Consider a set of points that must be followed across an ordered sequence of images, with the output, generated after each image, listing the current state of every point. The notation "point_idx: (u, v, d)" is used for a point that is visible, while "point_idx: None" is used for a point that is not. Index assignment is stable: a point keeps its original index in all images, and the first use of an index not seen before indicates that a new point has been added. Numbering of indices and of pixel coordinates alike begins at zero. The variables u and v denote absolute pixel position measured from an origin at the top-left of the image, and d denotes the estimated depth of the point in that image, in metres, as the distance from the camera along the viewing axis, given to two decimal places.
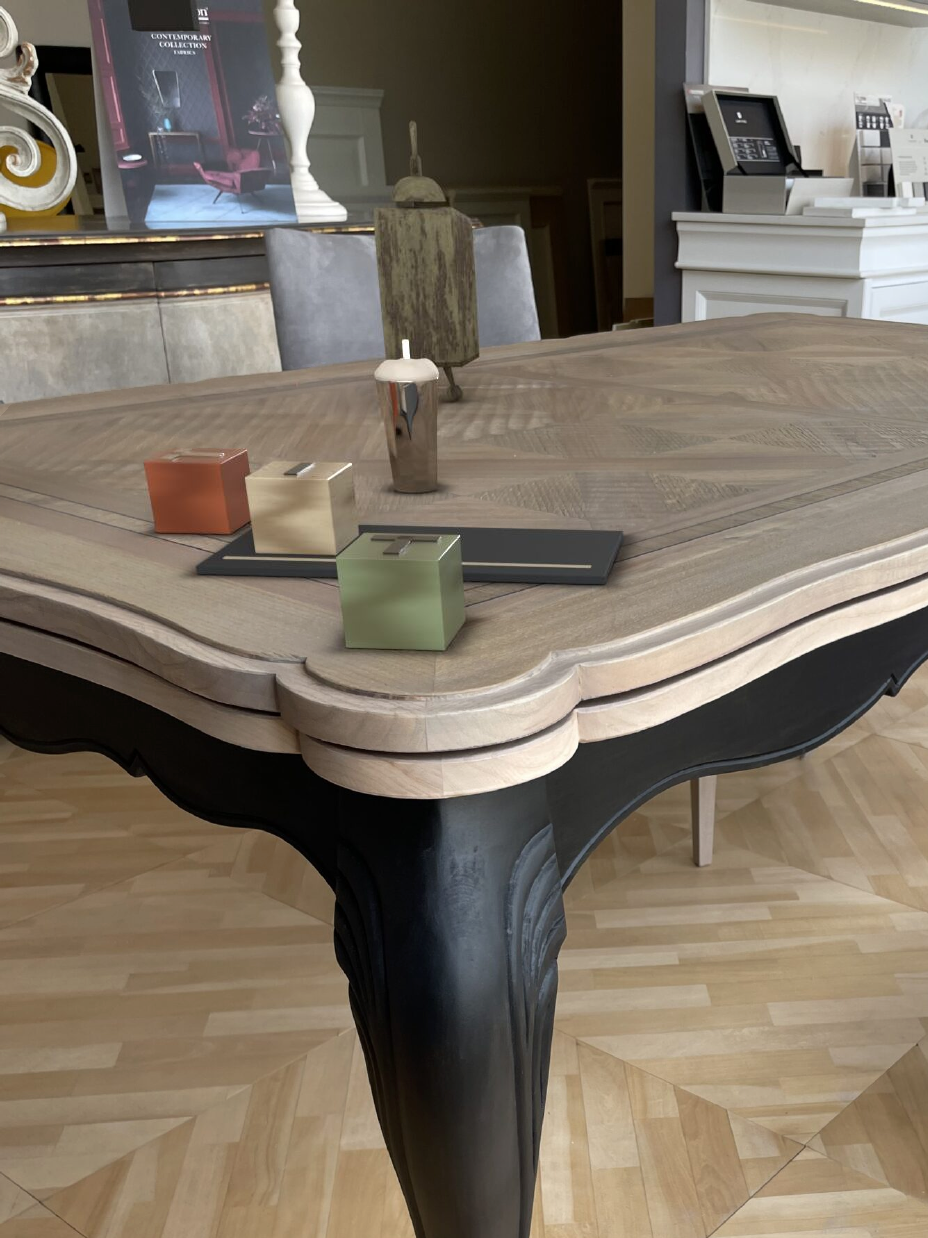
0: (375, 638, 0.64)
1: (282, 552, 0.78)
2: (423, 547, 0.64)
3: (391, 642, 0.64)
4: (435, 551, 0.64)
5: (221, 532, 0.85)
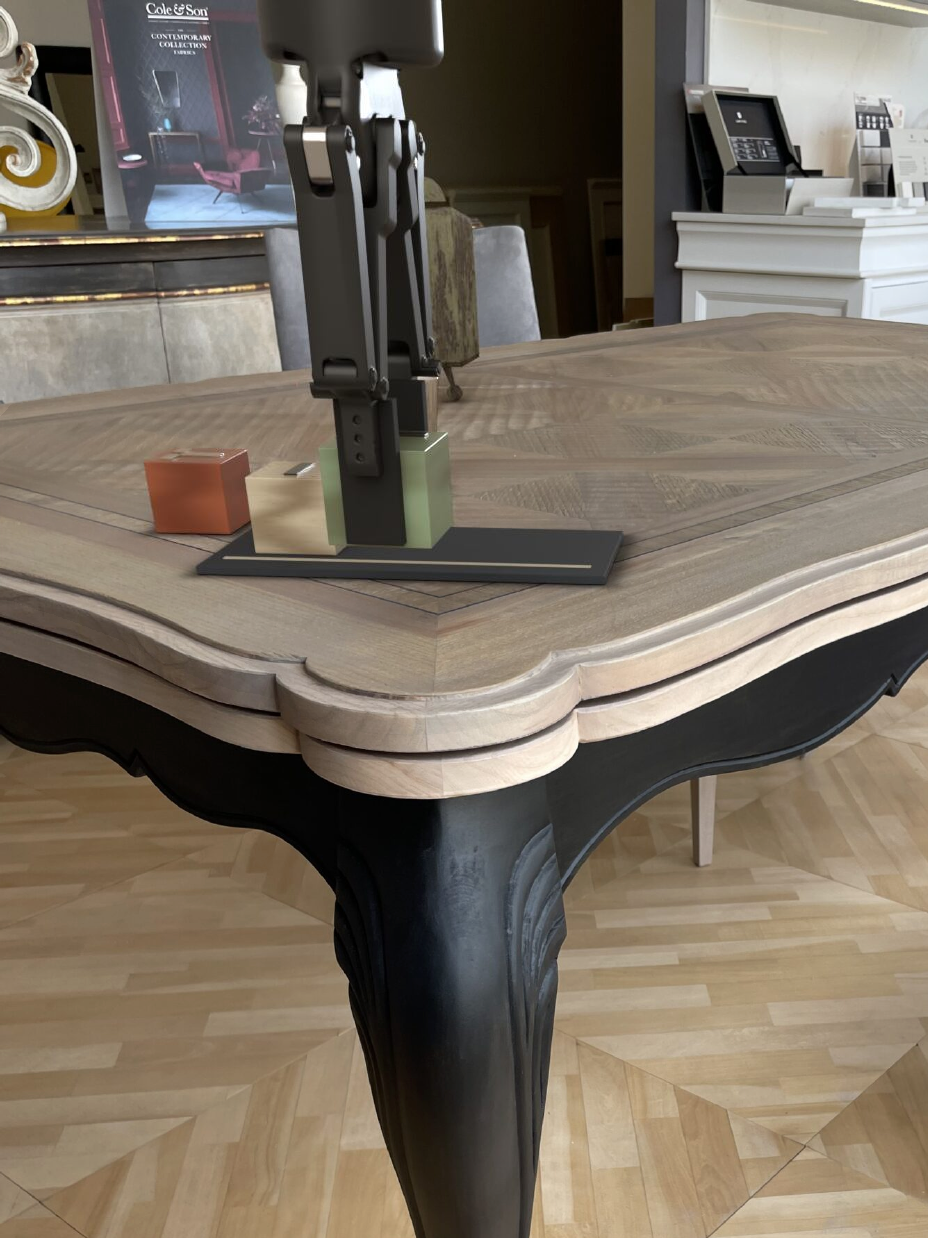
0: None
1: (282, 552, 0.78)
2: (409, 441, 0.62)
3: None
4: (422, 444, 0.61)
5: (221, 532, 0.85)
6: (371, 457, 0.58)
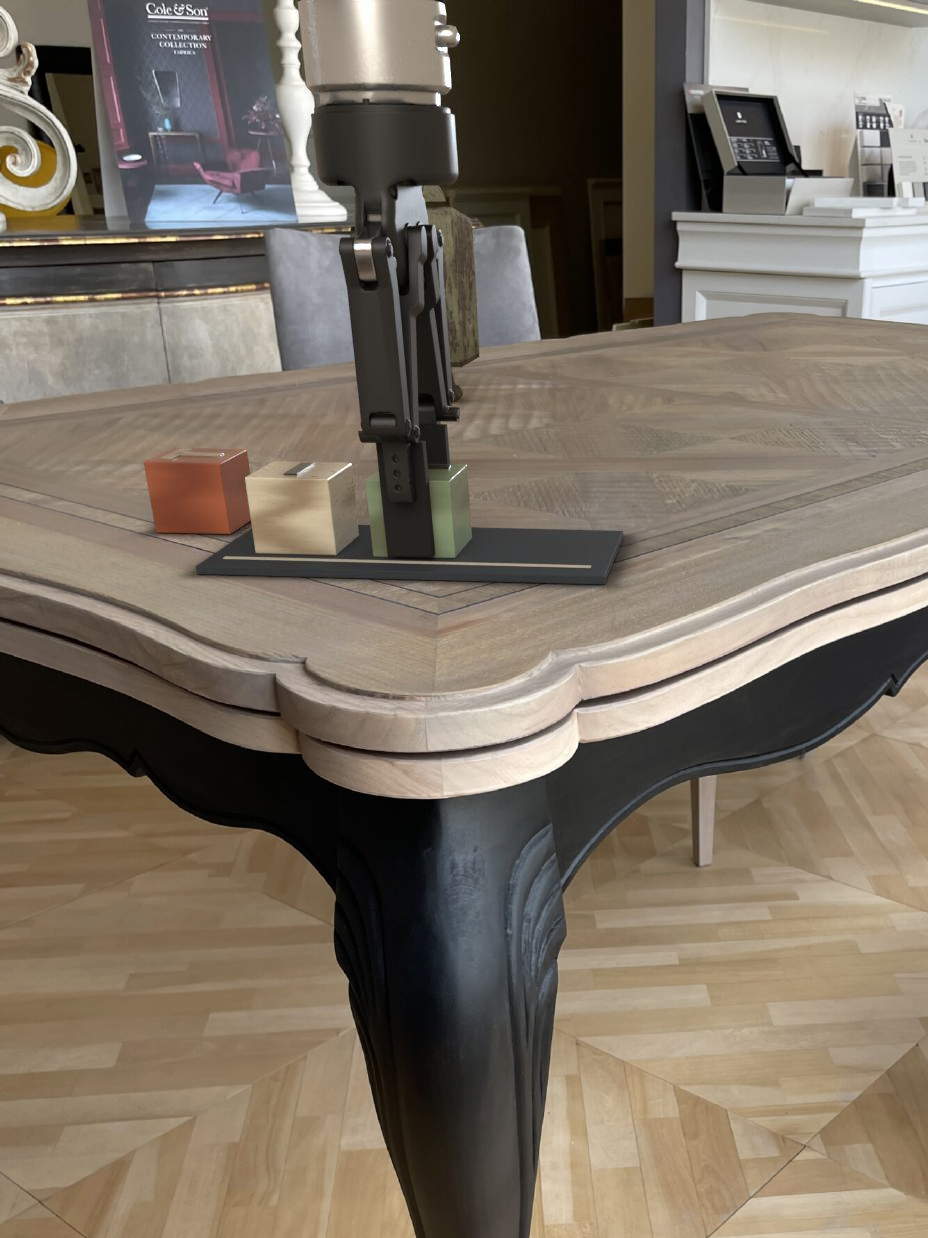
0: None
1: (282, 552, 0.78)
2: (437, 472, 0.78)
3: None
4: (447, 475, 0.77)
5: (221, 532, 0.85)
6: (407, 488, 0.74)
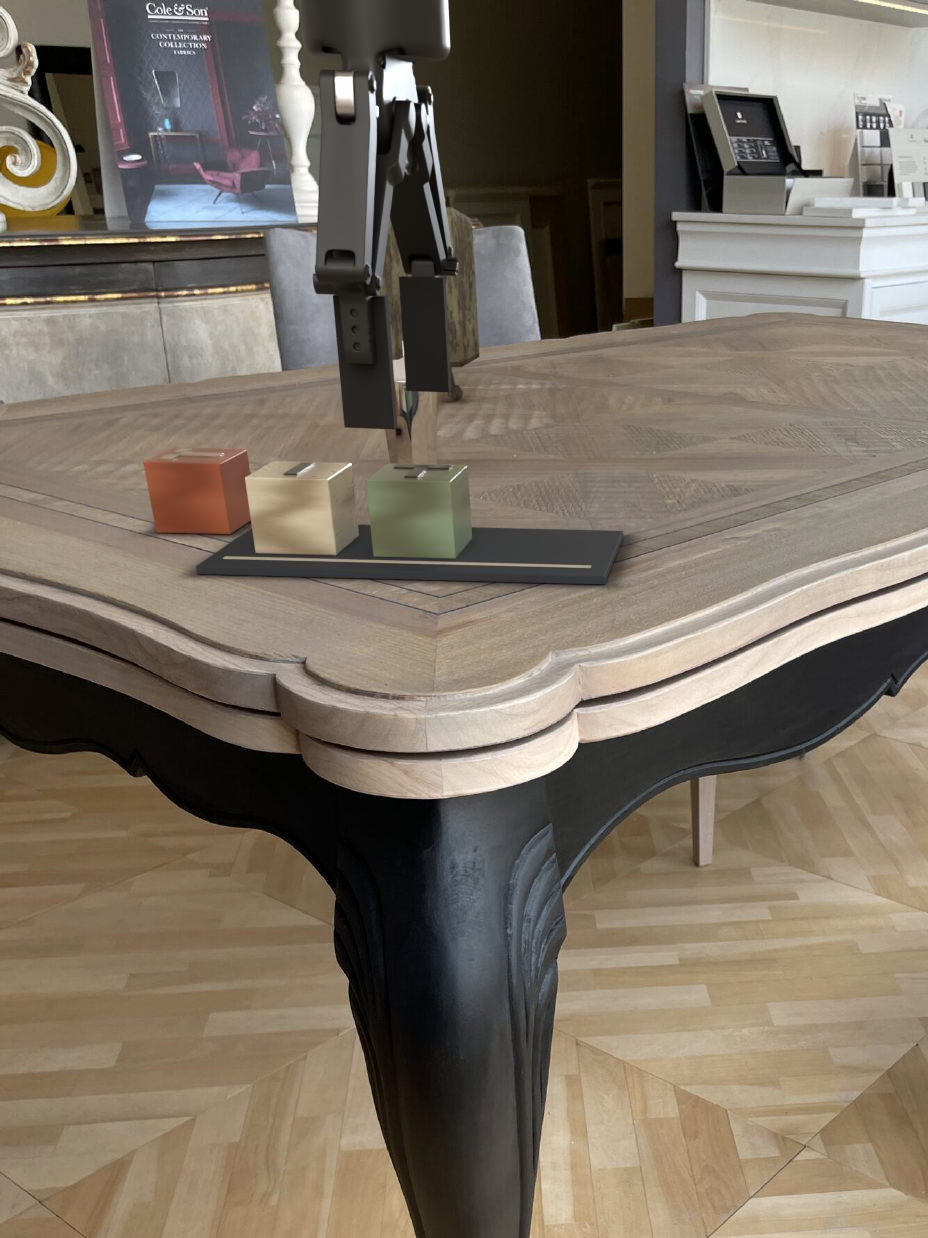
0: (397, 548, 0.78)
1: (282, 552, 0.78)
2: (437, 473, 0.78)
3: (411, 551, 0.78)
4: (447, 475, 0.77)
5: (221, 532, 0.85)
6: (366, 347, 0.67)
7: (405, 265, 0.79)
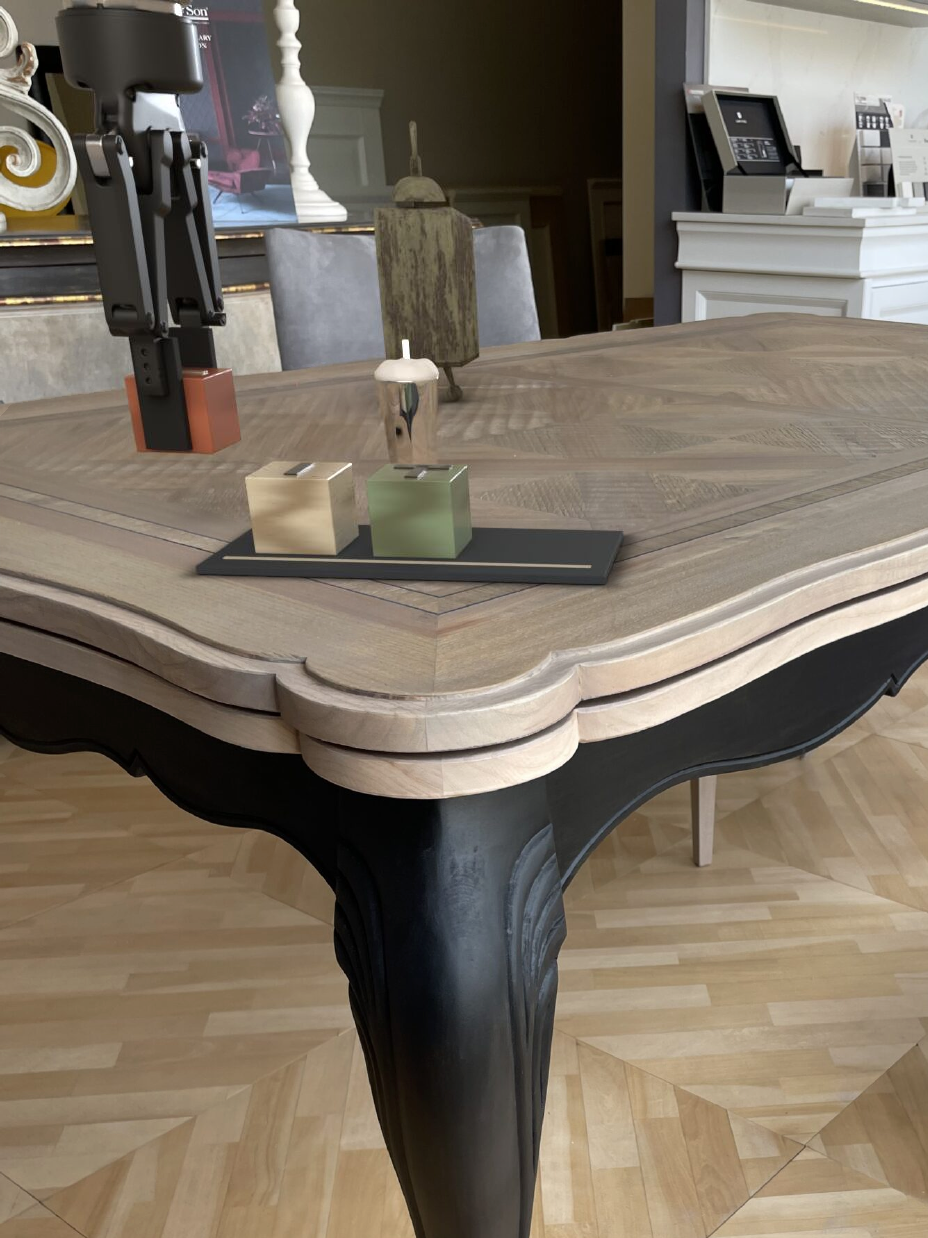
0: (397, 548, 0.78)
1: (282, 552, 0.78)
2: (437, 473, 0.78)
3: (411, 551, 0.78)
4: (447, 475, 0.77)
5: (204, 451, 0.82)
6: (157, 381, 0.79)
7: (173, 311, 0.84)
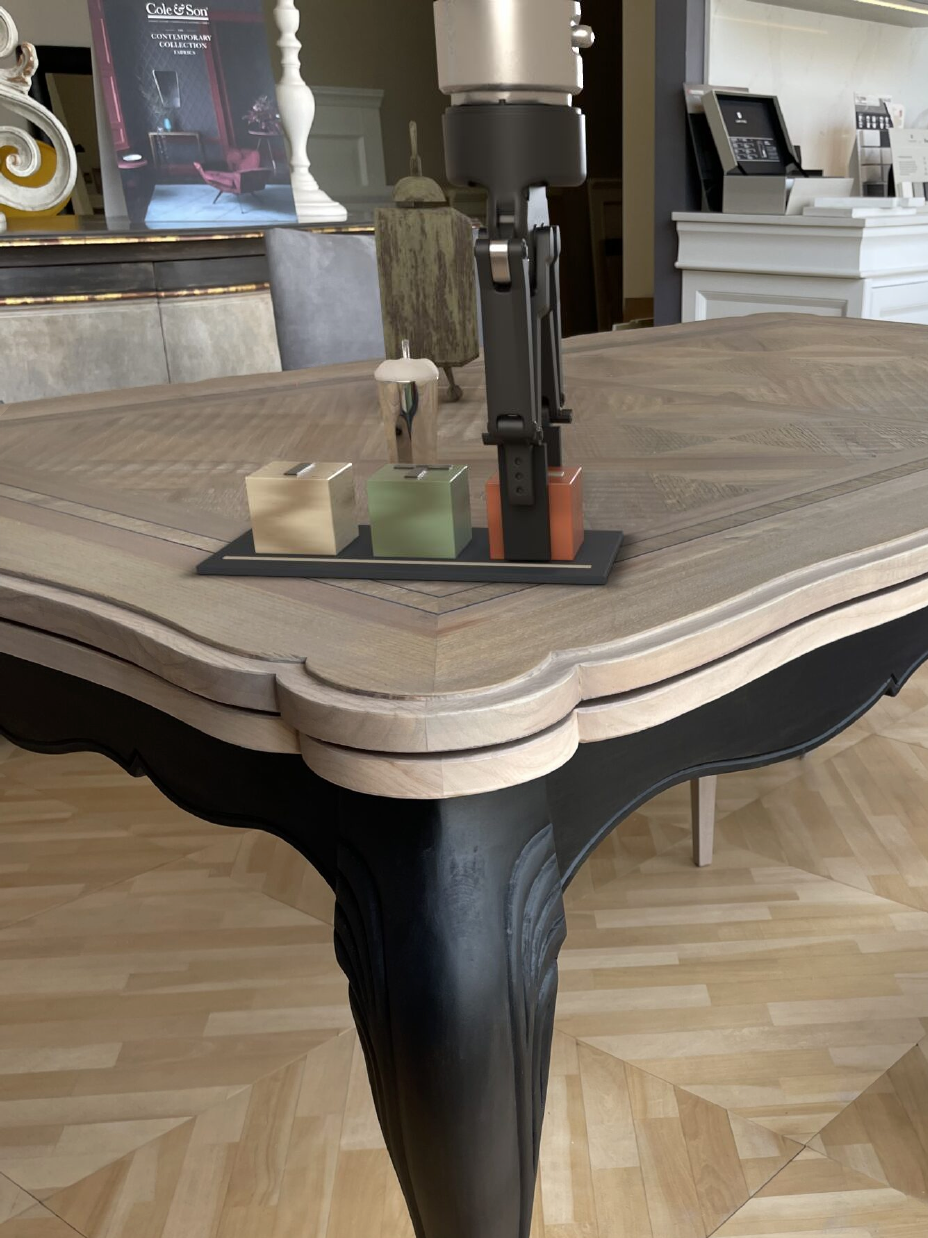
0: (397, 548, 0.78)
1: (282, 552, 0.78)
2: (437, 473, 0.78)
3: (411, 551, 0.78)
4: (447, 475, 0.77)
5: (563, 558, 0.77)
6: (529, 490, 0.74)
7: None
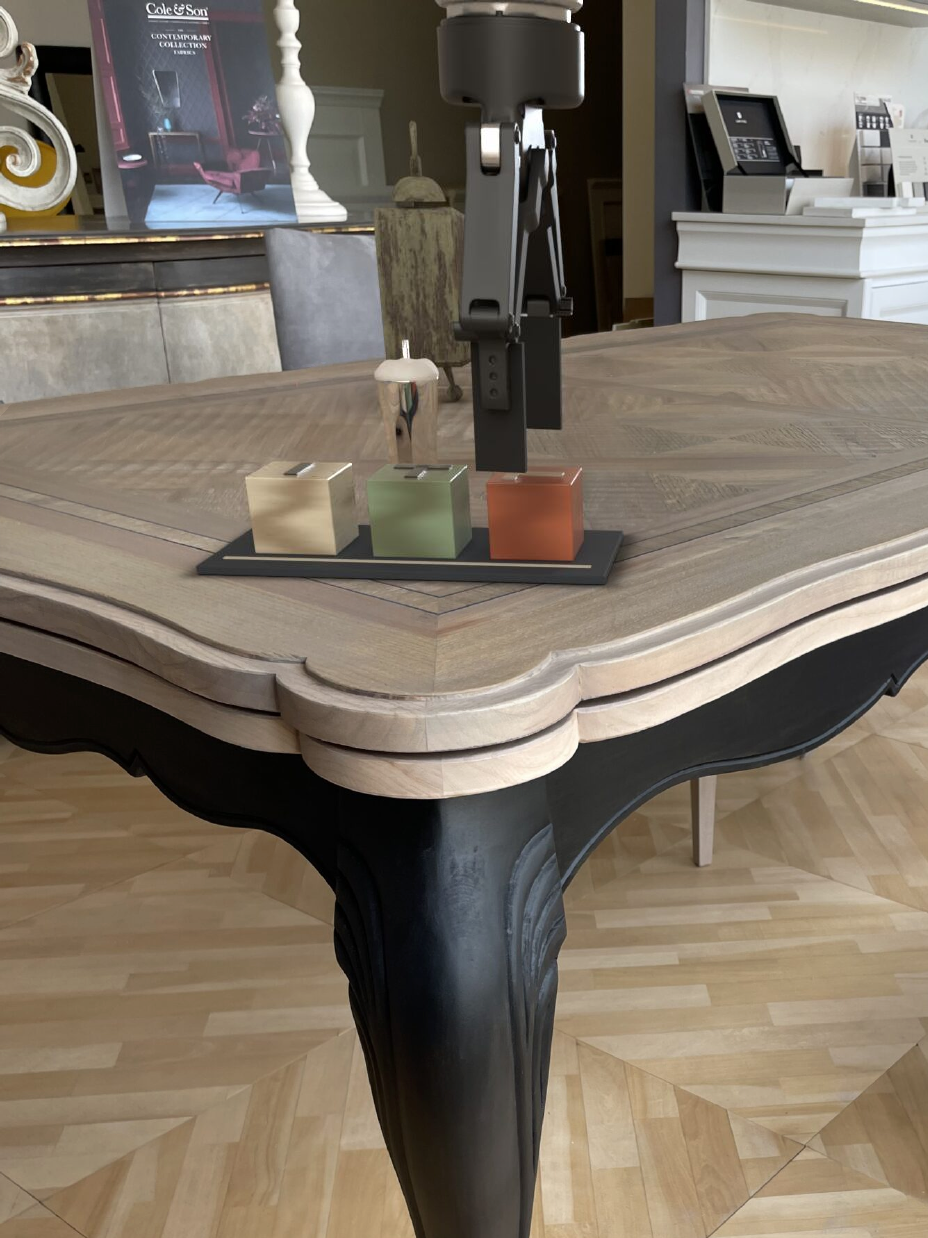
0: (397, 548, 0.78)
1: (282, 552, 0.78)
2: (437, 473, 0.78)
3: (411, 551, 0.78)
4: (447, 475, 0.77)
5: (563, 559, 0.77)
6: (504, 393, 0.68)
7: (521, 305, 0.80)
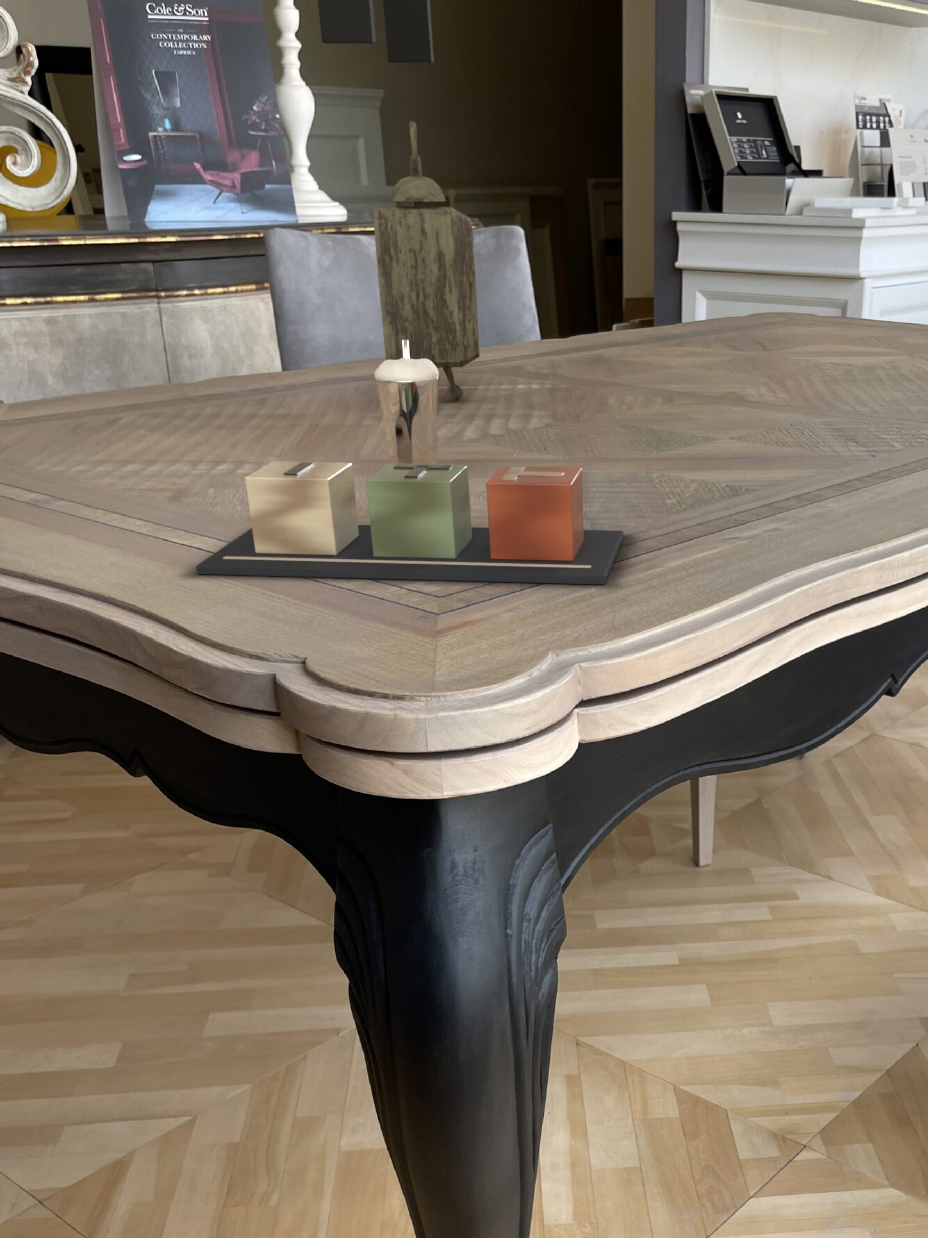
0: (397, 548, 0.78)
1: (282, 552, 0.78)
2: (437, 473, 0.78)
3: (411, 551, 0.78)
4: (447, 475, 0.77)
5: (563, 559, 0.77)
6: None
7: None
